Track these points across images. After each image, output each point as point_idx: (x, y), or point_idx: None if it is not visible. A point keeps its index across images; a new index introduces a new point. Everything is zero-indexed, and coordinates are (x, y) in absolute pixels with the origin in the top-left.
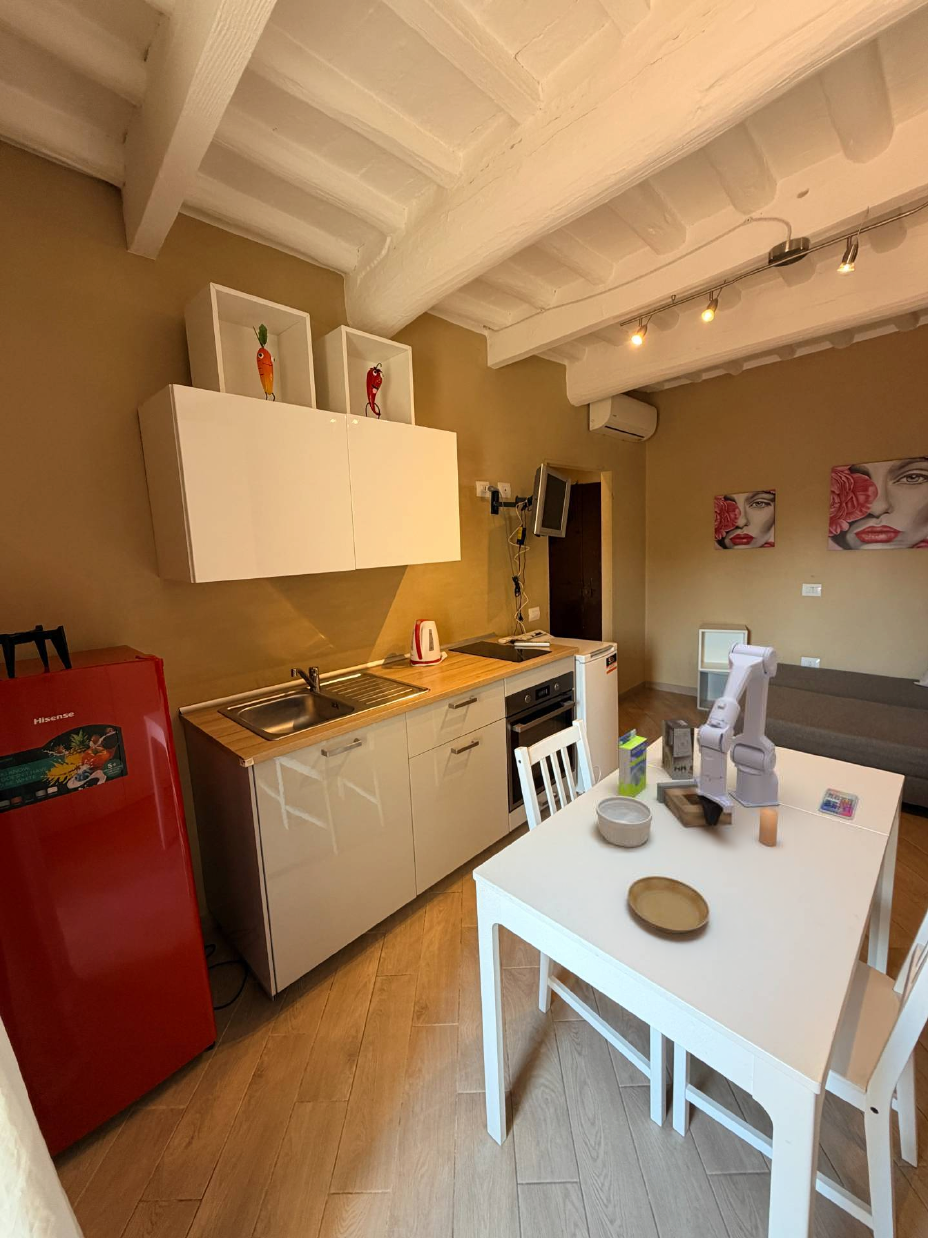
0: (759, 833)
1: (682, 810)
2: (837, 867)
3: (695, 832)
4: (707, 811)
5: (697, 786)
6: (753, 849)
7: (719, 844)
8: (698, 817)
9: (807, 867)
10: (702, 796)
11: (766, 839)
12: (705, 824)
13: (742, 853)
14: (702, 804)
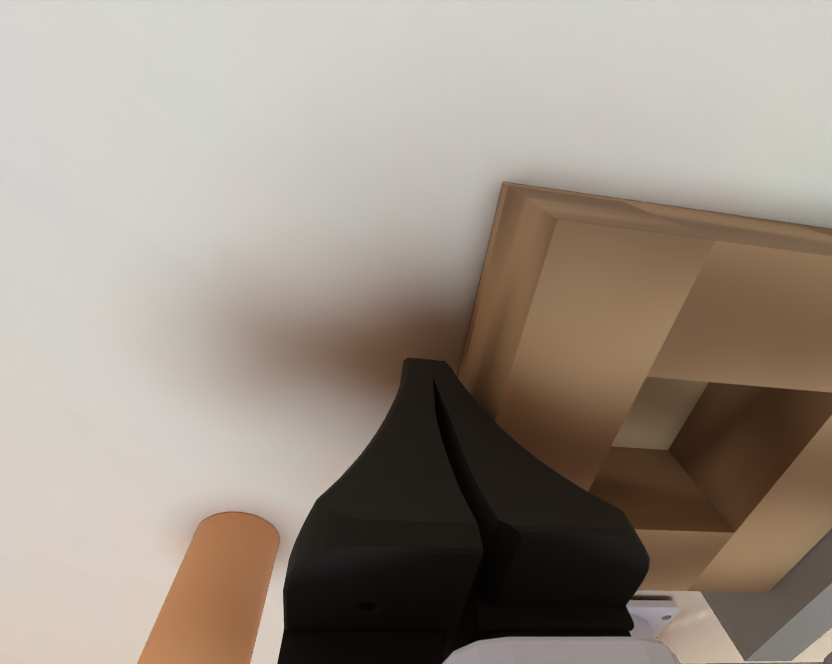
0: (235, 563)
1: (626, 227)
2: (46, 640)
3: (418, 230)
4: (390, 441)
5: (818, 554)
6: (172, 457)
7: (233, 308)
8: (494, 337)
9: (21, 569)
10: (565, 581)
11: (187, 560)
12: (467, 355)
13: (121, 383)
14: (501, 469)
